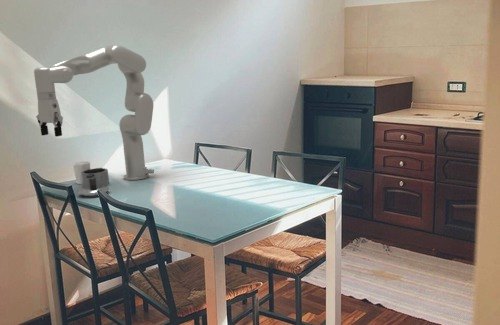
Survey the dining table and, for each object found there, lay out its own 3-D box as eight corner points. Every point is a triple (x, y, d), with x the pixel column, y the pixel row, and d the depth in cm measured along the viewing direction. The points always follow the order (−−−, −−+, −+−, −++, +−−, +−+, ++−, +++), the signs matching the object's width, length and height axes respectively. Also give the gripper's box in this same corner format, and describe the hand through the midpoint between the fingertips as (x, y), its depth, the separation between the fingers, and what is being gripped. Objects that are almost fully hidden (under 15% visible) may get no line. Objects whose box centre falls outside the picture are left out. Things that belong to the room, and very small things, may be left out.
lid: (112, 190, 248) (110, 174, 246) (104, 197, 235) (102, 181, 234) (84, 191, 248) (82, 175, 246) (75, 199, 235) (73, 182, 234)
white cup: (87, 184, 261) (84, 164, 259) (72, 184, 262) (70, 164, 260) (95, 180, 268) (92, 161, 266) (80, 180, 270) (78, 161, 268)
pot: (113, 180, 267) (111, 166, 265) (103, 189, 250) (101, 174, 248) (88, 181, 267) (87, 167, 265) (77, 190, 250) (76, 176, 248)
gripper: (66, 95, 230) (71, 135, 234) (42, 95, 240) (47, 133, 244) (51, 97, 224) (56, 137, 228) (27, 97, 234) (32, 136, 238)
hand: (51, 135), depth 236 cm, fingers open, 9 cm apart
